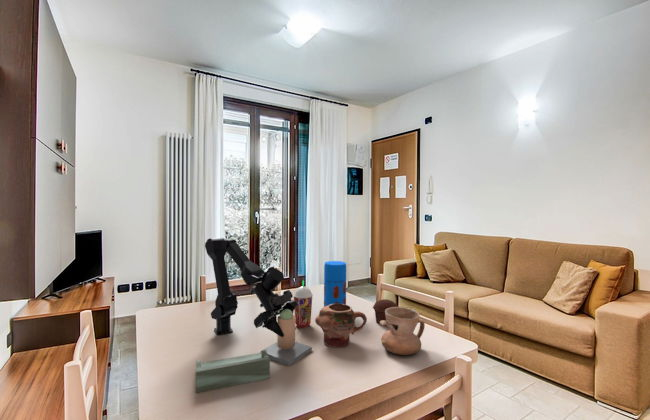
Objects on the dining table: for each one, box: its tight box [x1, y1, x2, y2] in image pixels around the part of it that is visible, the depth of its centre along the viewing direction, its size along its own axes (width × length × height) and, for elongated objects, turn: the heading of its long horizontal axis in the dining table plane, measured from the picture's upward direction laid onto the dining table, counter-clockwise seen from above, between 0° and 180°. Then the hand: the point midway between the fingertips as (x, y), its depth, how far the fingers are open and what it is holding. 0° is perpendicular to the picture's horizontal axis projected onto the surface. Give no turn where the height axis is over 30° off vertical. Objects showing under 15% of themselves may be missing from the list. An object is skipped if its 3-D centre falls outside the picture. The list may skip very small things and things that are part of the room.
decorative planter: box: [314, 303, 368, 348], centre depth 122 cm, size 20×12×14 cm, turn 97°
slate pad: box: [259, 341, 313, 367], centre depth 113 cm, size 13×13×2 cm
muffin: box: [372, 298, 399, 327], centre depth 143 cm, size 12×11×10 cm
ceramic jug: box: [380, 306, 425, 356], centre depth 116 cm, size 18×14×14 cm
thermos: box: [323, 260, 347, 307], centre depth 153 cm, size 11×11×25 cm
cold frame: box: [195, 349, 271, 394], centre depth 99 cm, size 13×21×6 cm, turn 112°
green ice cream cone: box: [276, 309, 296, 349], centre depth 113 cm, size 6×6×13 cm
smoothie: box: [293, 280, 313, 329], centre depth 139 cm, size 8×8×20 cm
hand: (289, 333), depth 112 cm, fingers closed on green ice cream cone, 6 cm apart
